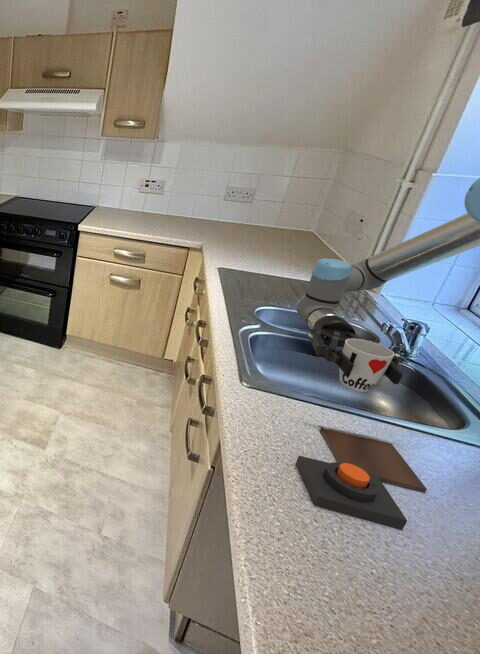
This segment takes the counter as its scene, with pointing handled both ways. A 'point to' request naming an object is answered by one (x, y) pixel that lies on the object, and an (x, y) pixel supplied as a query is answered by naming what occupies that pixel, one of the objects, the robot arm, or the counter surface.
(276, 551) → the counter surface
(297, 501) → the counter surface
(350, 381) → the cup
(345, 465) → the console button
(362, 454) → the trivet
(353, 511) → the console
